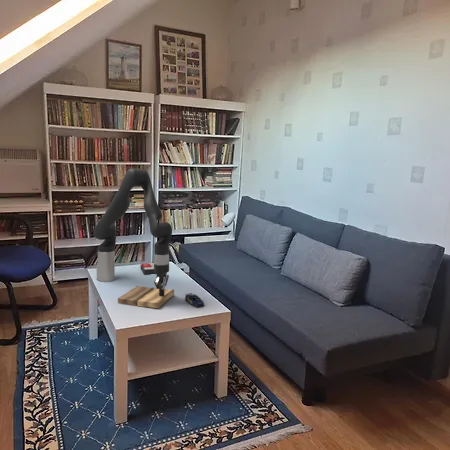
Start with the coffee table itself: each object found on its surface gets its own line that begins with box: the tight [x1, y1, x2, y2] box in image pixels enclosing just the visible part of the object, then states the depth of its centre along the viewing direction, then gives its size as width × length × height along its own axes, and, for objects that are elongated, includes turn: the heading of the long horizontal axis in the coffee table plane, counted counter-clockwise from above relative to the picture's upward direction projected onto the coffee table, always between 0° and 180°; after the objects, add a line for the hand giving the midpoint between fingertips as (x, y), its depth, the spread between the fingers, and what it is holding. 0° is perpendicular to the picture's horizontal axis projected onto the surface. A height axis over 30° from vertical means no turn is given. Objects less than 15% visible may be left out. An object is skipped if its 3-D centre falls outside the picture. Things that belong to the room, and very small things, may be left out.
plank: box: [136, 287, 175, 309], centre depth 201 cm, size 11×20×3 cm, turn 164°
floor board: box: [117, 285, 155, 307], centre depth 204 cm, size 10×20×3 cm, turn 164°
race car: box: [184, 292, 205, 310], centre depth 200 cm, size 15×7×4 cm, turn 40°
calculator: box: [140, 262, 157, 276], centre depth 251 cm, size 11×4×15 cm
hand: (161, 295), depth 200 cm, fingers closed
